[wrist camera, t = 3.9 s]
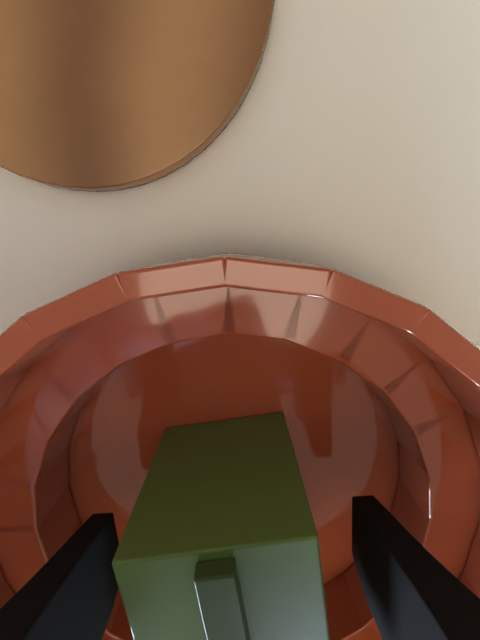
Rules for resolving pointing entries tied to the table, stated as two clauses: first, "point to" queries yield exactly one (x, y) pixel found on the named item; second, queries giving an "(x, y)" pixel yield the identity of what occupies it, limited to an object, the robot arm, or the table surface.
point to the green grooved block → (223, 539)
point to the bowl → (241, 408)
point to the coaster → (121, 85)
